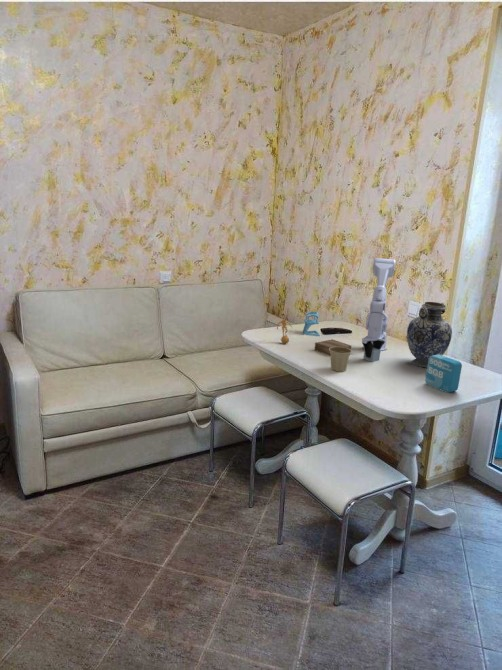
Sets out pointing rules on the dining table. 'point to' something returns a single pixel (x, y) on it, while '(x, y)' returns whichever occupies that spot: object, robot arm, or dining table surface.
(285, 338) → the figurine
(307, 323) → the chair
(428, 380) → the data package
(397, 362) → the dining table surface
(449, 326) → the decorative vase
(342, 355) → the flower pot
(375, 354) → the slate cube
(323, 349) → the walnut base block
